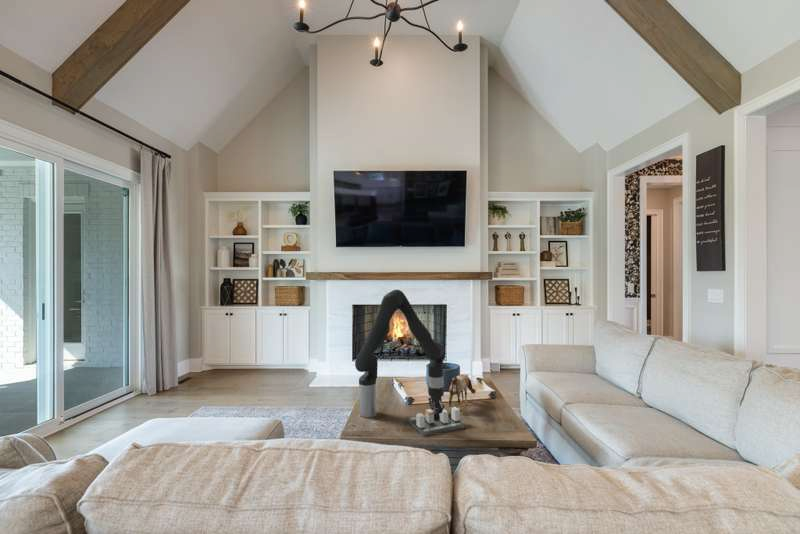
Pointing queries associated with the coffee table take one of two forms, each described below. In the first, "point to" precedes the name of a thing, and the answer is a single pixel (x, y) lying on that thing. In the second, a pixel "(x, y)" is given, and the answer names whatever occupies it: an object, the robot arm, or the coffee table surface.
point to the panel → (437, 425)
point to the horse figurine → (460, 389)
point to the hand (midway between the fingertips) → (436, 420)
